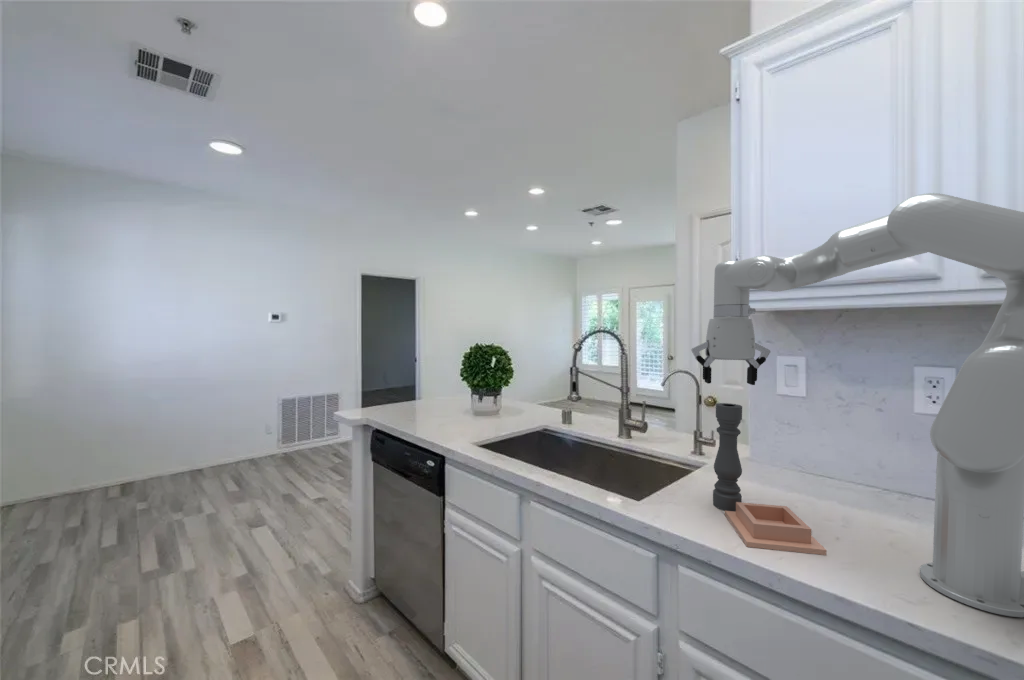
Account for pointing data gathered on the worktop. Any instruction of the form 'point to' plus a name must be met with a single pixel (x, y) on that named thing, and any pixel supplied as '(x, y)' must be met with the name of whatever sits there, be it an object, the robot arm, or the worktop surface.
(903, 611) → the worktop surface
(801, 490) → the worktop surface
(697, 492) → the worktop surface
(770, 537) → the square tray
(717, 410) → the candle holder
